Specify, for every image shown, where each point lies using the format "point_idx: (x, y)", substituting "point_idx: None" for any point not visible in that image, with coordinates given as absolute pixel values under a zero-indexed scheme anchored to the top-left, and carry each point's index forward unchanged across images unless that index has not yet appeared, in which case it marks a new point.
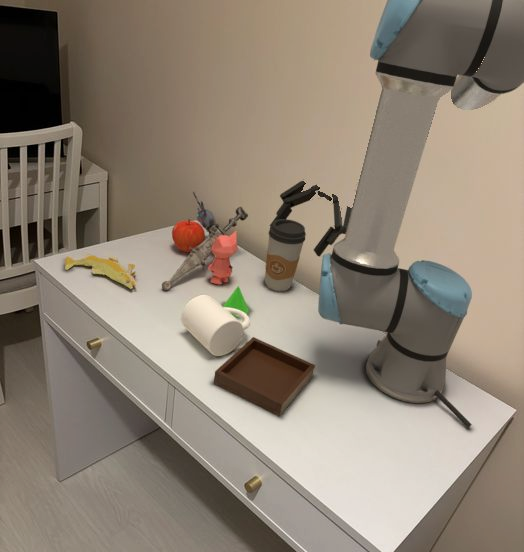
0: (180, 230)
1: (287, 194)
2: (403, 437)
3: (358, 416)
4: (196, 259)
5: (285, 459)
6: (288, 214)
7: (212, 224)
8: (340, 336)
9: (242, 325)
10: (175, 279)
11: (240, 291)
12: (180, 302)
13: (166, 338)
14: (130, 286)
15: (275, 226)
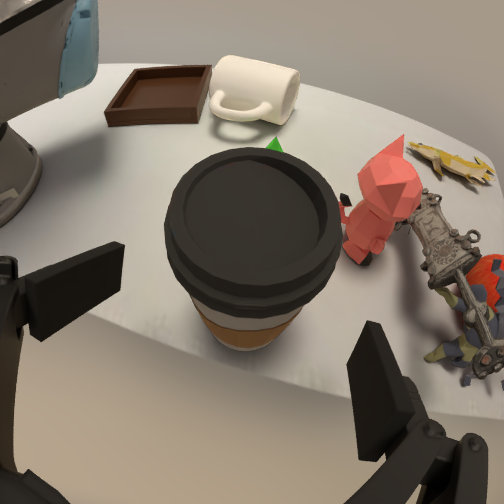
0: (502, 255)
1: (461, 460)
2: (28, 123)
3: (62, 116)
4: None
5: (125, 66)
6: (360, 430)
7: (496, 304)
8: (70, 217)
9: (210, 80)
10: None
11: (269, 147)
12: (349, 154)
13: (300, 99)
14: (412, 142)
15: (302, 168)
